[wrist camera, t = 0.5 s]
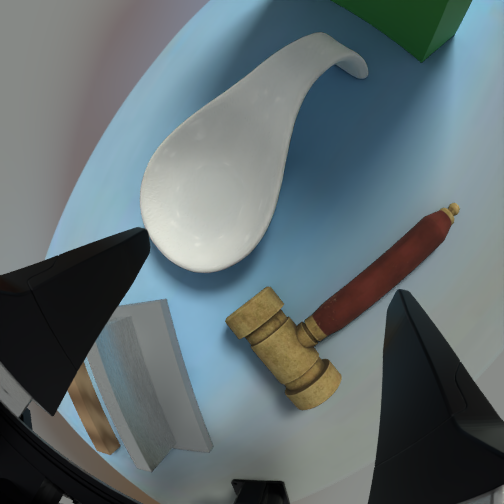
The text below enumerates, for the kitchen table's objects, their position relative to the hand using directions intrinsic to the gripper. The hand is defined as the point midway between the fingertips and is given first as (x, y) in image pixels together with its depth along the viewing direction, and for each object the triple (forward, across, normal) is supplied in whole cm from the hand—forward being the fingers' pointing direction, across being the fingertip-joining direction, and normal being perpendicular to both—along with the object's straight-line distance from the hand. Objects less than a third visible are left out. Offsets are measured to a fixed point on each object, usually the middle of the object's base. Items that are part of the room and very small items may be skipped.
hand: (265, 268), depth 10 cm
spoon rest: (+17, +4, +1) cm, 17 cm away
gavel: (+12, -7, +9) cm, 16 cm away
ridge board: (+5, +11, +23) cm, 26 cm away
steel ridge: (+4, +11, +23) cm, 25 cm away
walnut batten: (+2, +22, +31) cm, 38 cm away
